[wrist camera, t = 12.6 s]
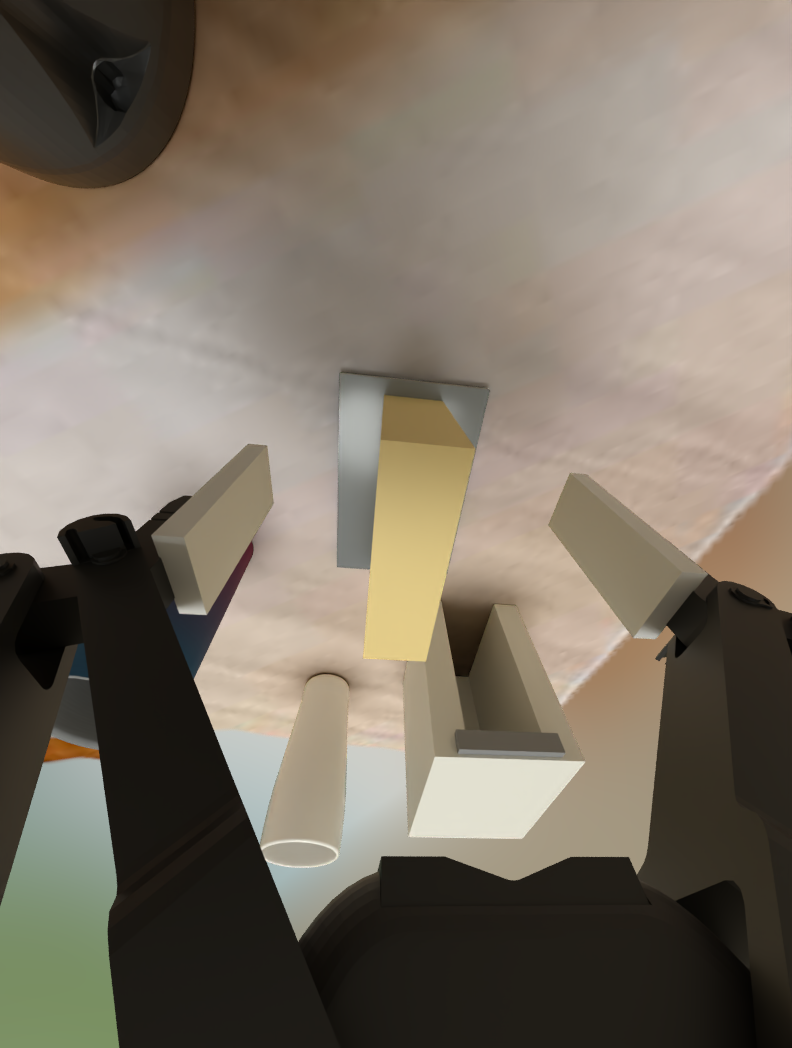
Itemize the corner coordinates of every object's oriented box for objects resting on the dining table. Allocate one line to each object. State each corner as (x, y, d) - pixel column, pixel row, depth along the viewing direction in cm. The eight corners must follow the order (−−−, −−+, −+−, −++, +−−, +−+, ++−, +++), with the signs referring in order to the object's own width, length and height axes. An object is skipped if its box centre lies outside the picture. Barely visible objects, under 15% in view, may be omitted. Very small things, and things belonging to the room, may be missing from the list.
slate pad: (341, 372, 22) (339, 373, 21) (486, 387, 23) (489, 389, 22) (338, 561, 30) (337, 567, 30) (445, 569, 31) (446, 574, 30)
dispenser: (419, 594, 33) (436, 751, 21) (517, 601, 33) (589, 757, 21) (402, 683, 40) (408, 836, 28) (483, 687, 41) (521, 838, 29)
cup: (171, 510, 27) (-21, 676, 15) (254, 510, 27) (135, 674, 15) (197, 574, 31) (60, 753, 18) (270, 574, 31) (186, 751, 18)
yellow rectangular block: (384, 394, 22) (380, 439, 14) (442, 401, 22) (475, 448, 14) (370, 560, 29) (363, 658, 21) (415, 564, 30) (425, 661, 21)
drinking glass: (346, 663, 38) (324, 836, 25) (362, 696, 41) (350, 864, 29) (290, 672, 39) (241, 845, 26) (311, 704, 42) (277, 871, 29)
